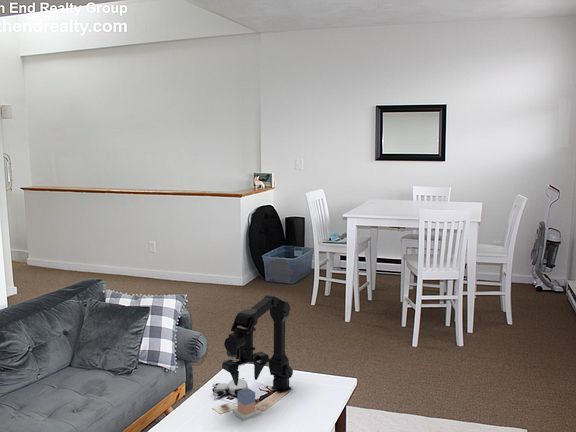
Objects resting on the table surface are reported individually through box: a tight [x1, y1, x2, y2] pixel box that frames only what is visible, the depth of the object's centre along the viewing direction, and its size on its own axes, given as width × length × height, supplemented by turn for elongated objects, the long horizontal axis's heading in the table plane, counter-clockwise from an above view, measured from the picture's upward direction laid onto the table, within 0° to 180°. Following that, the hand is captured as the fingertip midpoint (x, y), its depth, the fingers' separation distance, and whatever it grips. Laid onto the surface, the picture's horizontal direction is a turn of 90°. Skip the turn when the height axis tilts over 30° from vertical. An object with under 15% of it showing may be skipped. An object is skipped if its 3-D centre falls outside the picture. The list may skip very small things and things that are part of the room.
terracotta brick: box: [237, 400, 256, 415], centre depth 226 cm, size 5×5×4 cm
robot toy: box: [212, 377, 249, 397], centre depth 245 cm, size 12×4×15 cm
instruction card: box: [212, 401, 238, 415], centre depth 231 cm, size 9×6×1 cm, turn 128°
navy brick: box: [237, 387, 256, 405], centre depth 226 cm, size 5×5×4 cm
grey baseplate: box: [231, 408, 261, 421], centre depth 227 cm, size 8×8×1 cm
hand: (246, 382), depth 225 cm, fingers open, 9 cm apart
